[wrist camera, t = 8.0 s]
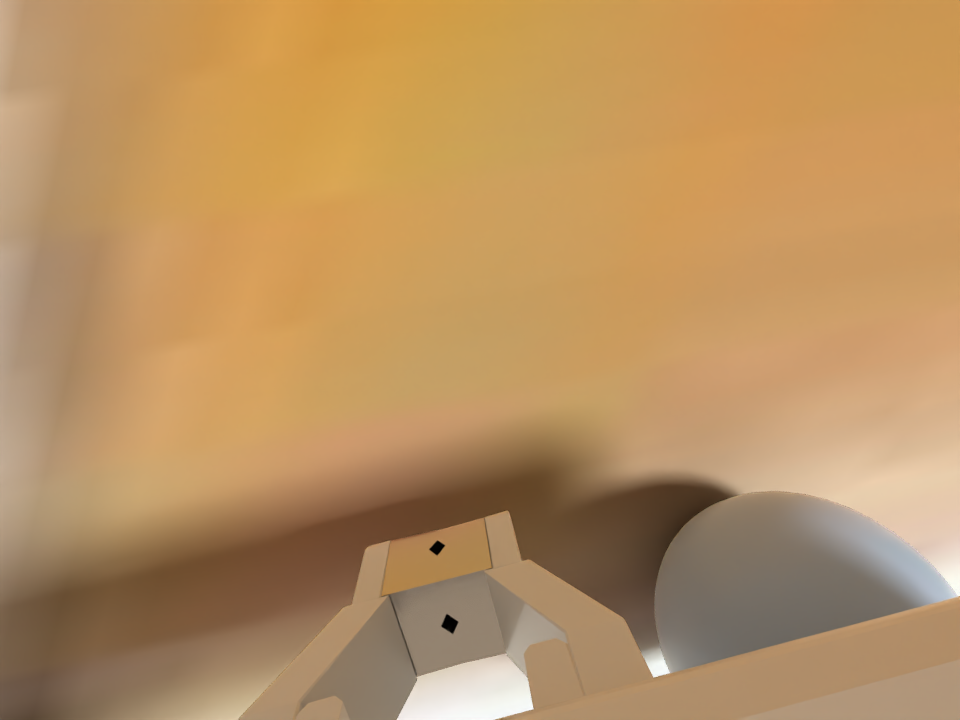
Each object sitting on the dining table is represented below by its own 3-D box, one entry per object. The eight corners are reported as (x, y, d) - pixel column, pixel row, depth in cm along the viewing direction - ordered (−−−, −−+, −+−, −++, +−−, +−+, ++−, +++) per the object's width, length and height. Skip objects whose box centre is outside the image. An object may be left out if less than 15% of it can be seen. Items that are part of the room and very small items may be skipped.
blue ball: (1239, 854, 5) (938, 433, 9) (746, 861, 6) (639, 466, 9) (945, 784, 10) (819, 521, 13) (677, 792, 10) (621, 540, 14)
